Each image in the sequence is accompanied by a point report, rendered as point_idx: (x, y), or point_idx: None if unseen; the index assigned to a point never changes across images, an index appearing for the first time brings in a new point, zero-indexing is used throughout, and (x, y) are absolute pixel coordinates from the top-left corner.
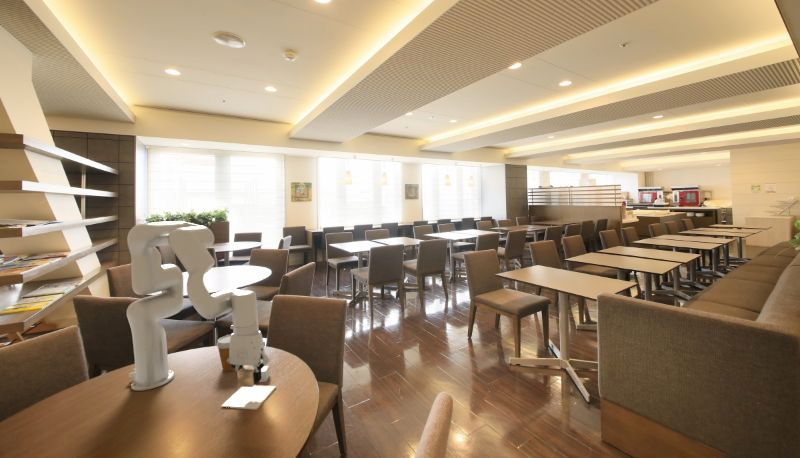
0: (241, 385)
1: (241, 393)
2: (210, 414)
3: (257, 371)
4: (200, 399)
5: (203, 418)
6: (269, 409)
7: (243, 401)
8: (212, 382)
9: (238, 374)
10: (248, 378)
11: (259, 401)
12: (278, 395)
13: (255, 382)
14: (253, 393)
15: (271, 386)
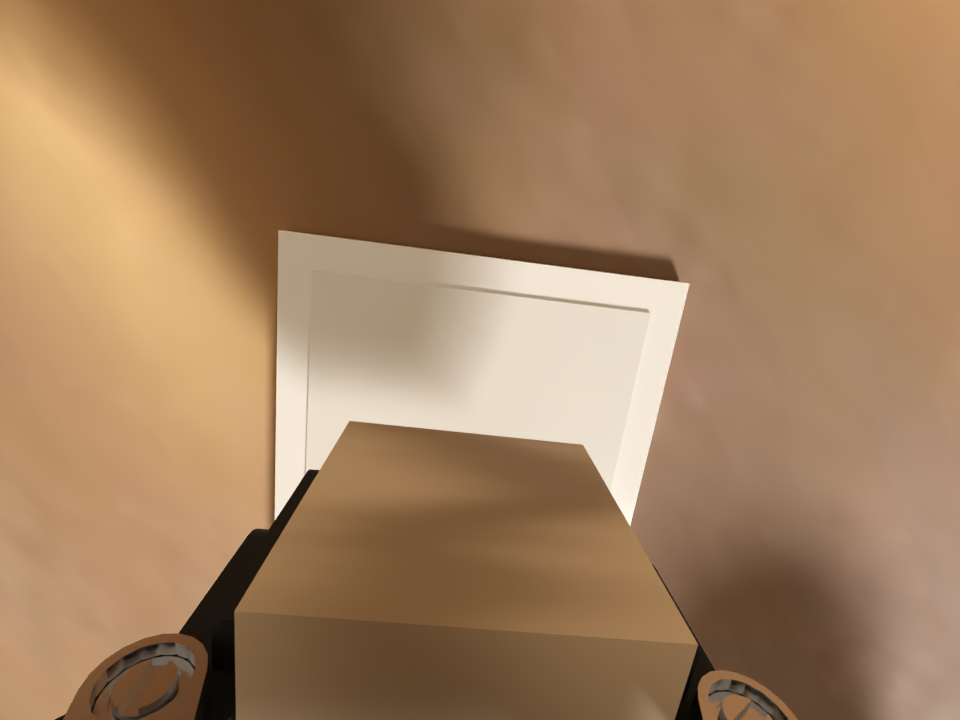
0: (531, 446)
1: None
2: (746, 165)
3: (144, 668)
4: (938, 415)
5: (793, 97)
6: (147, 228)
7: (481, 343)
8: (917, 653)
9: (633, 580)
10: (384, 503)
11: (308, 342)
12: (187, 458)
13: (303, 482)
14: None
15: None
